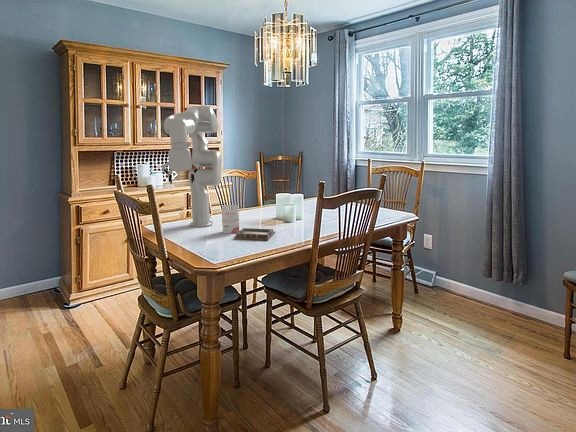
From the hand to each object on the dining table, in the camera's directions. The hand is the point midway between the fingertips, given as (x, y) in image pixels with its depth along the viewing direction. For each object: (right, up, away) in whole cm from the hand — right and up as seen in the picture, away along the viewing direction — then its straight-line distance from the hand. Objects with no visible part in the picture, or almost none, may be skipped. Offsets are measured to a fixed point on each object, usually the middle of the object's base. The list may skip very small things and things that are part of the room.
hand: (181, 183), depth 200 cm
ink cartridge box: (+20, -24, +24) cm, 40 cm away
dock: (+33, -26, +15) cm, 45 cm away
